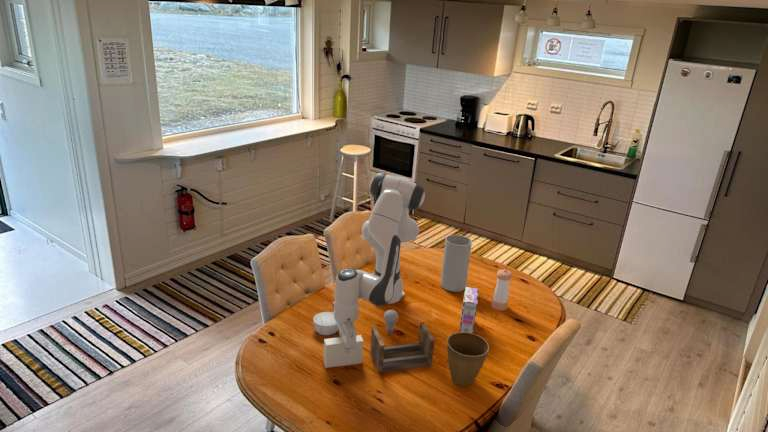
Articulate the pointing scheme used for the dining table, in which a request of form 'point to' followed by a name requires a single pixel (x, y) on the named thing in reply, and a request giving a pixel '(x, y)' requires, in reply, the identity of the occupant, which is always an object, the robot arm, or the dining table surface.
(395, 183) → the robot arm
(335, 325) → the ramekin
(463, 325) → the candy box
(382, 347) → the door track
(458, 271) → the cylinder vase
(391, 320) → the lightbulb
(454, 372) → the plant pot
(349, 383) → the dining table surface
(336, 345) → the door panel
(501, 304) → the salt shaker
